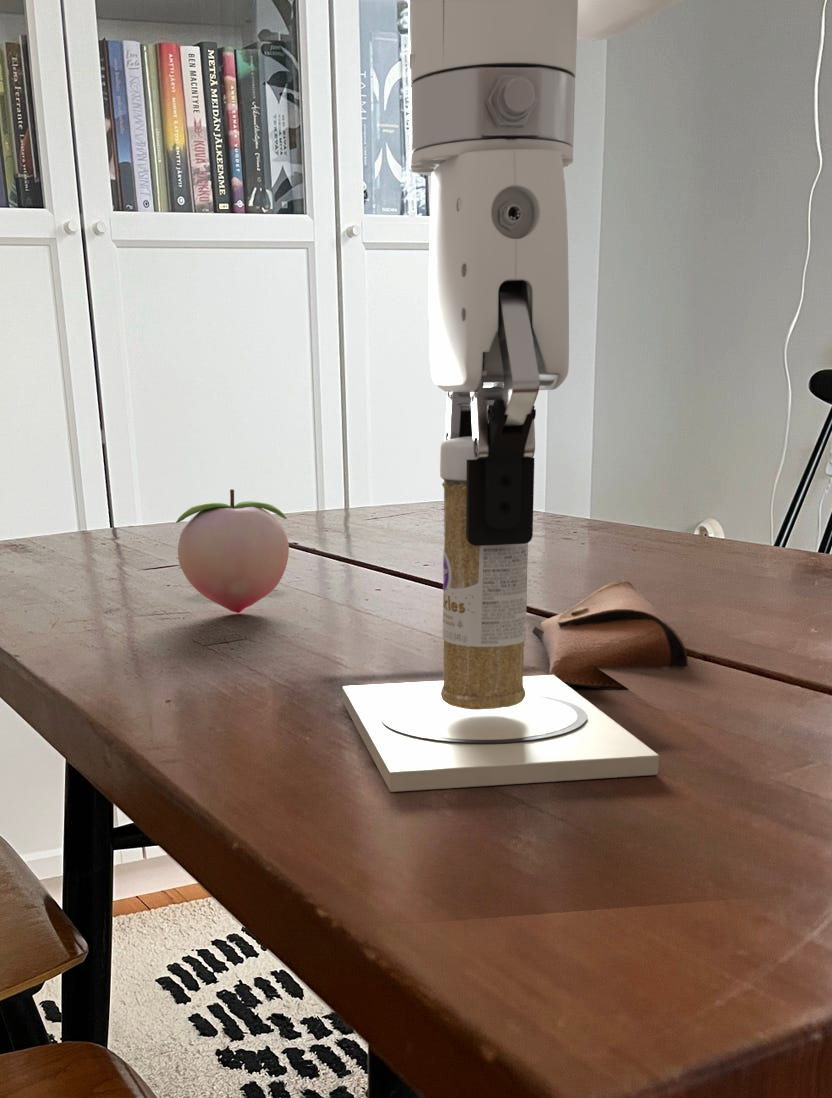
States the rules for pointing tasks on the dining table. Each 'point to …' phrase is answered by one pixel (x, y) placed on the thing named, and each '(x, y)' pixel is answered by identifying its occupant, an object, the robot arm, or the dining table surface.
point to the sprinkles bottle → (479, 602)
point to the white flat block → (491, 737)
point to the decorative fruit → (233, 551)
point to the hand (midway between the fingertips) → (486, 533)
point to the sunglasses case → (608, 637)
